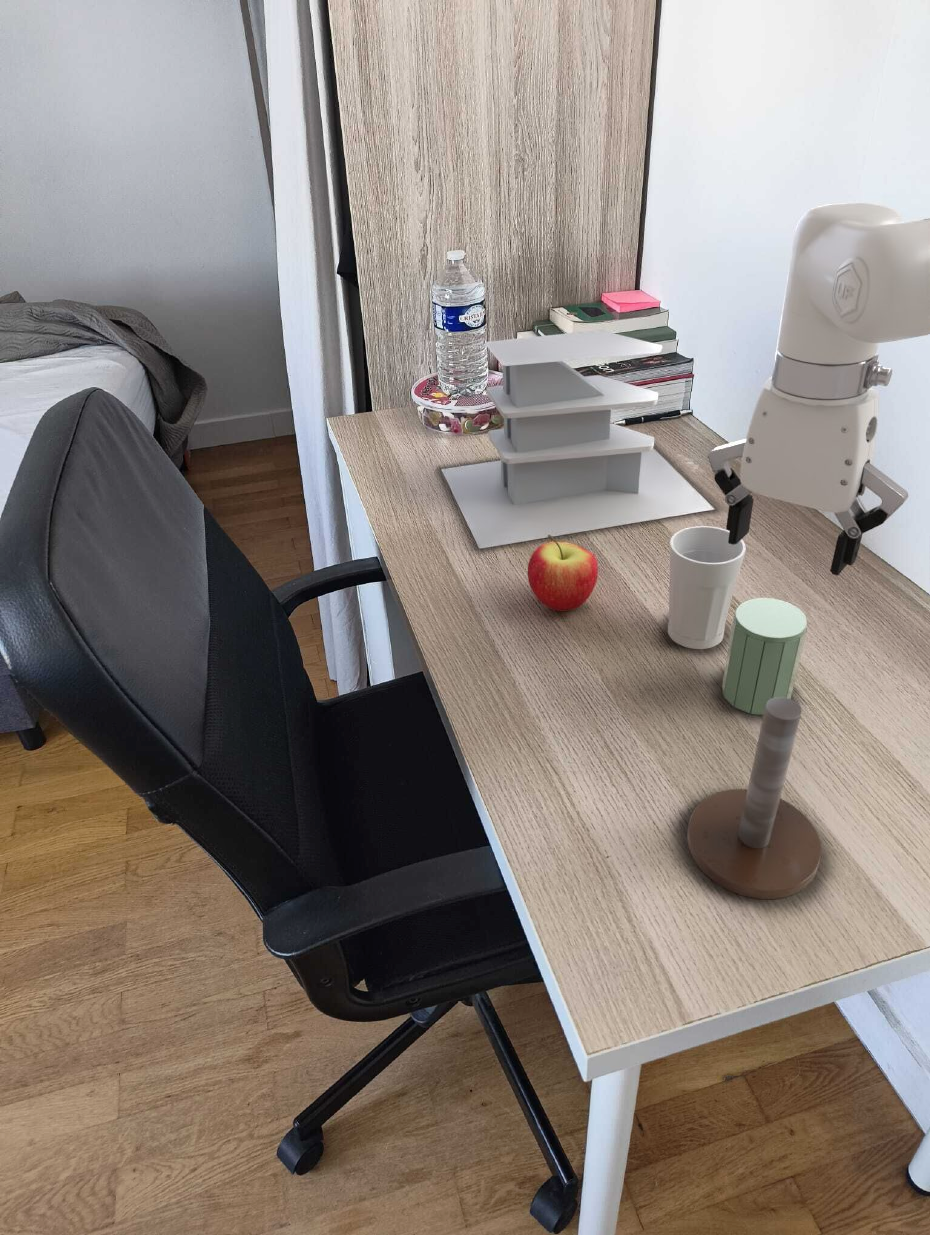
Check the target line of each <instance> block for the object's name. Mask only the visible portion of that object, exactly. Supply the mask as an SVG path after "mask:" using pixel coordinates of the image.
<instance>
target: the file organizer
mask: <svg viewBox="0 0 930 1235" xmlns="http://www.w3.org/2000/svg"><path fill="white" fill-rule="evenodd" d="M484 345H485V346H486V347H487V349H488V350H489V351H490V352H491V354H492V355H493V356H494V358H496V360H497V361H498V363H500V365H501V367H502V368H501V369H502V385H494V386H493V385H492V386H488V387H486V388H485V389H486V390H485V391H486V395H487V397H488V398H489V399H490V401H491V402H492V404H493V405H494V406H495V408H496V410H497V411H498V412H499V414H500V415H501V417H502V418H503V428H497V429H490V430H488V431H487V433H488V434H487V435H488V436H487V437H488V440H489V441H490V442H491V444H492V446H493V447H494V449H495V450H496V452H497V453H498V455H499V457H500V460H494V461H488V462H481V463H480V462H479V463H474V464H467V465H461V466H454V467H448V468H441V472H442V474H443V477H444V478H445V480H446V483H447V484H448V487H449V489H450V490H451V492H452V495H453V497H454V499H455V501H456V504H457V505H458V507H459V509H460V512H461V513H462V515H463V517H464V520H465V523H466V524H467V526H468V528H469V530H470V532H471V534H472V537H473V538H474V541H475V542H476V546H477V547H478V548H479V550H482V549H488V548H493V547H498V546H499V547H500V546H504V545H511V544H516V543H517V544H518V543H521V542H522V543H523V542H528V541H534V540H535V541H536V540H539V539H540V540H541V539H546V538H549V537H548V535H551V536H552V537H553V538H554V537H559V536H564V535H570V534H576V533H582V532H583V533H584V532H587V531H594V530H599V529H605V528H612V527H619V526H623V525H630V524H637V523H641V522H642V523H643V522H648V521H649V522H650V521H654V520H660V519H666V518H672V517H678V516H683V515H684V516H685V515H689V514H695V513H702V512H708V511H713V510H715V508H714V507H713V505H711V504H710V503H709V502H708V501H707V500H706V499H705V498H704V497H703V496H702V495H701V494H700V493H699V492H698V491H697V490H696V489H695V488H694V486H692V485H691V484H690V483H689V482H688V481H687V480H686V479H685V478H684V477H683V476H682V475H681V474H680V473H679V472H678V471H677V470H676V469H675V468H674V467H673V466H672V465H671V463H669V462H668V461H667V460H666V459H665V458H664V457H663V456H662V455H661V454H660V453H659V451H657V449H655V448H654V446H655V439H656V438H655V437H654V436H651V435H649V434H645V433H642V432H641V431H640V432H639V431H637V430H634V429H630V428H627V427H624V426H622V425H618V424H615V423H613V422H611V416H612V414H611V413H612V410H621V409H634V408H644V407H653V406H657V403H658V401H659V392H657V391H655V390H651V389H648V388H644V387H641V386H638V385H634V384H632V383H627V382H624V381H620V380H617V379H613V378H611V377H606V376H603V375H599V374H596V375H595V374H594V375H586V376H584V375H583V374H581V373H580V372H579V371H577V370H576V369H575V368H574V367H571V366H570V365H569V364H567V363H566V362H567V361H569V362H570V361H580V360H581V361H582V360H592V359H603V358H615V357H626V356H638V355H651V354H659V353H661V352H662V349H663V345H662V344H658V343H654V342H649V341H646V340H643V339H638V338H634V337H631V336H626V335H621V334H618V333H615V332H614V333H613V332H610V331H607V330H601V329H598V330H587V331H579V332H578V331H577V332H568V333H560V334H559V333H558V334H549V335H541V336H540V335H539V336H528V337H520V338H510V339H500V340H489V341H486V342H484Z"/></svg>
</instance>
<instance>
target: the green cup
mask: <svg viewBox="0 0 930 1235" xmlns="http://www.w3.org/2000/svg"><path fill="white" fill-rule="evenodd" d="M735 609H736V610H735V612H734V615H733V618H732V624H731V631H730V637H729V642H728V648H727V655H726V660H725V666H724V671H723V678H722V683H721V689H722V696H723V698H724V699H725V700H726V701H727V702H728V703H729V704H730V705H731V706H732V707H733V708H734V709H735V708H736V709H738V710H740V711H743V712H744V713H747V714H751V715H759V716H761V715H762V716H763V715H764V711H765V706H766V703H767V701H768V700H770V699H772V698H775V697H785V698H789V699H791V700H792V696H793V695H792V694H793V690H794V686H795V682H796V677H797V673H798V669H799V665H800V662H801V656H802V653H803V648H804V644H805V640H806V636H807V631H808V627H807V626H808V619H807V616H806V615H805V613H804V612H803V610H801V609H800V608H799V607H798V606H796V605H794V604H792V603H790V602H787V601H785V600H782V599H778V598H773V597H756V598H751V599H747V600H745V601H743V602H742V603H740V604H739V605H738V607H737V608H735Z"/></svg>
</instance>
